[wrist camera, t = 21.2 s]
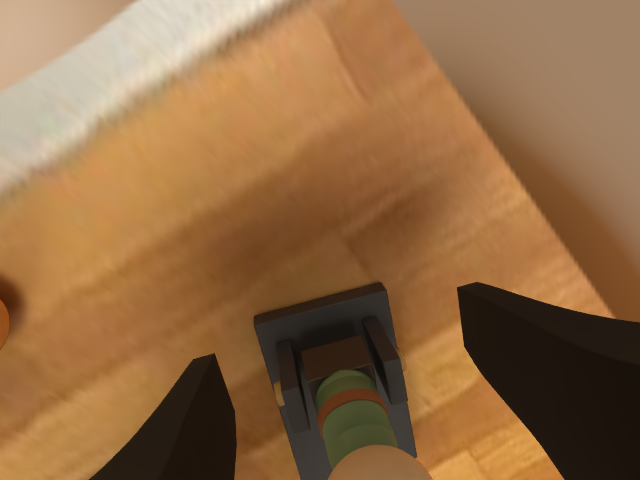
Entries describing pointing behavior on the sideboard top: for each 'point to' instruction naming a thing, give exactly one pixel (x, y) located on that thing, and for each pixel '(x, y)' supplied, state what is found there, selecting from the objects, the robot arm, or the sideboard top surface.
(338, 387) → the peg doll
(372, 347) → the toy stand
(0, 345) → the figurine
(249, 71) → the sideboard top surface
